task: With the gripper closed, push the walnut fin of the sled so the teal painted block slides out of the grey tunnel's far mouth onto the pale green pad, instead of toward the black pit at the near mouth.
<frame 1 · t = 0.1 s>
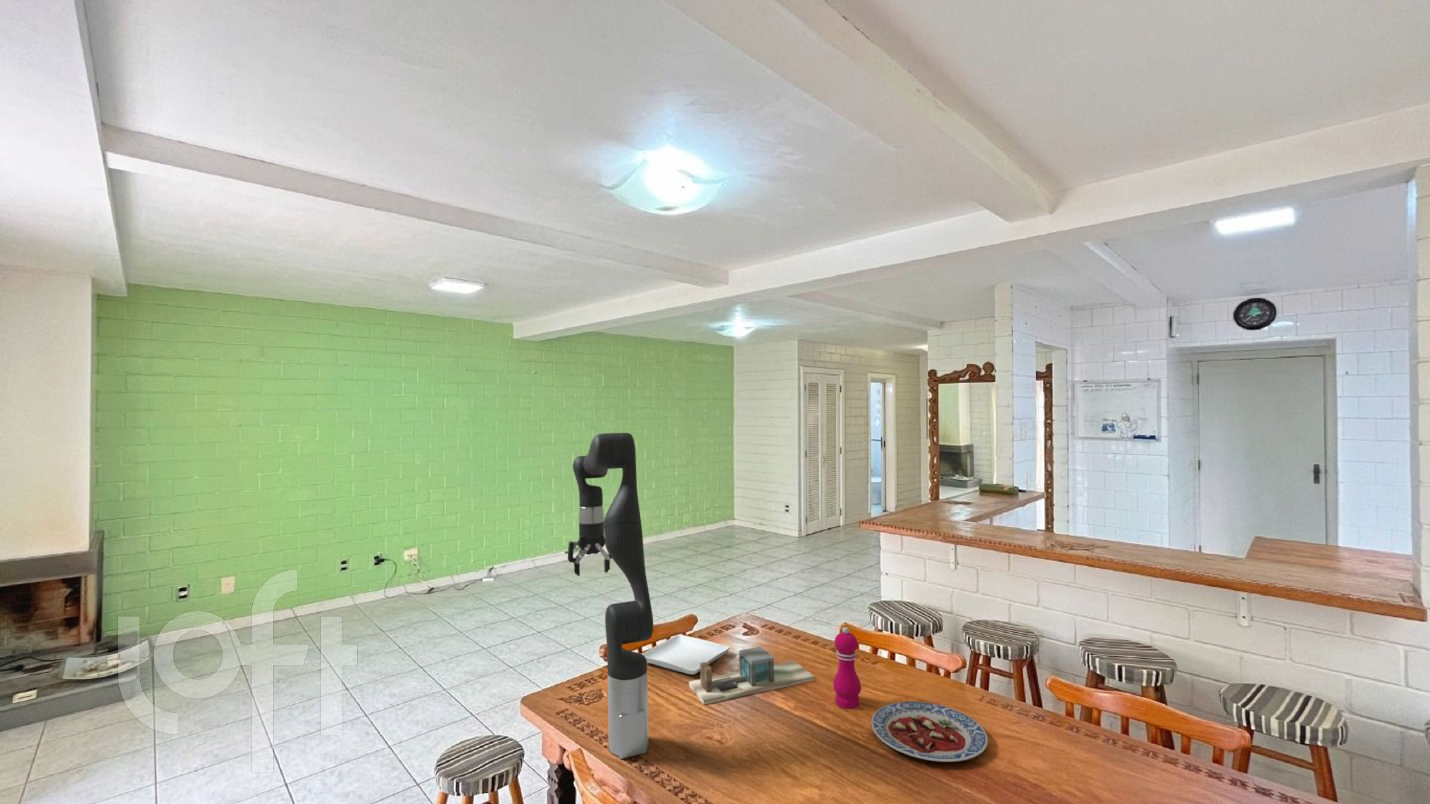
hand: (592, 573, 179), 29 cm above the table, fingers open, 8 cm apart
pepper mill: (847, 704, 155), on the table
salad plate: (686, 661, 184), on the table
deck tunnel: (755, 682, 168), on the table
ceramic plate: (928, 738, 138), on the table
sled: (734, 671, 165), point 4 cm above the table, slide at 0.0 cm
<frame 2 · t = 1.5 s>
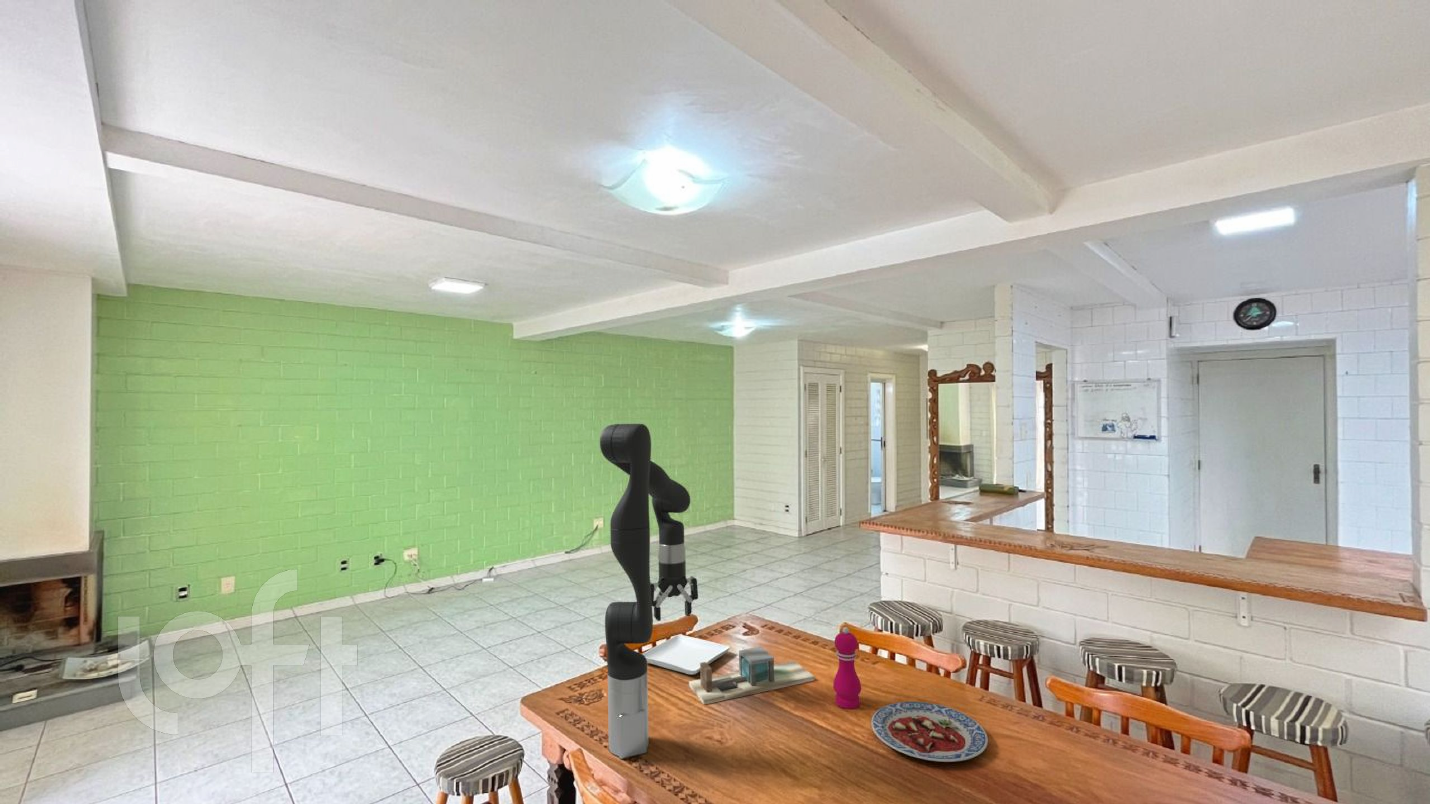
hand: (673, 617, 162), 21 cm above the table, fingers open, 8 cm apart
nothing on the table moved.
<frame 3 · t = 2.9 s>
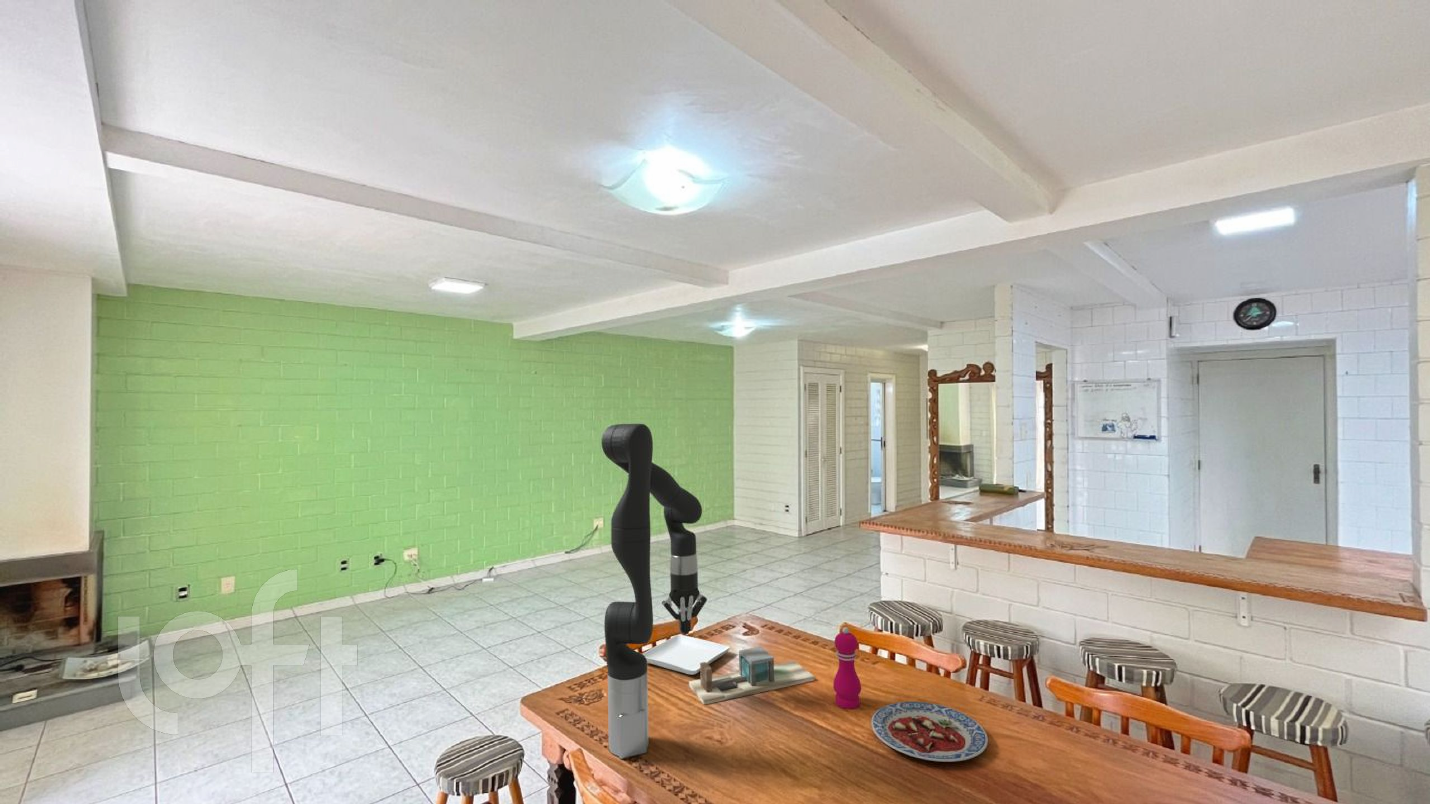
hand: (685, 633, 160), 17 cm above the table, fingers closed
nothing on the table moved.
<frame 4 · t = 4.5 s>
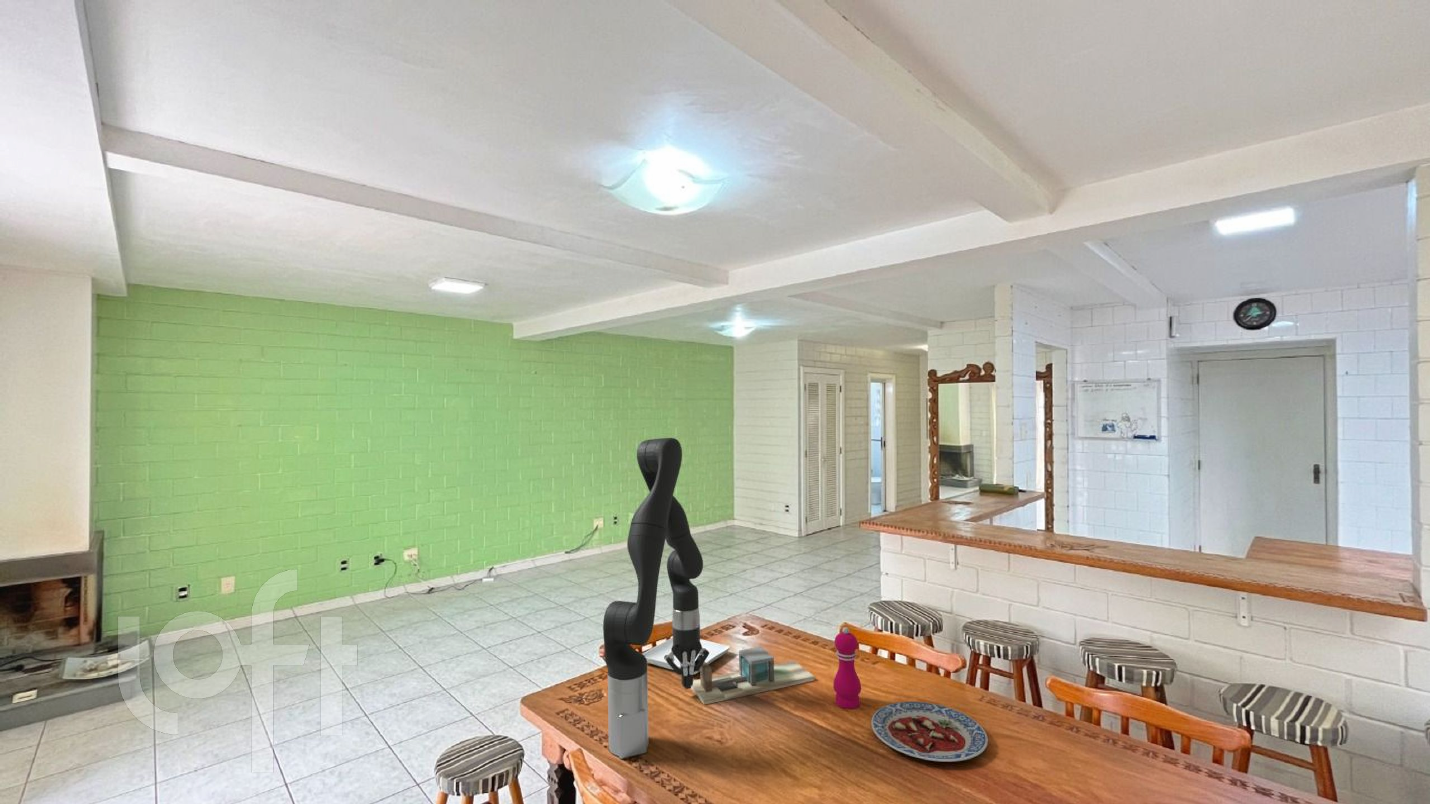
hand: (687, 687, 160), 2 cm above the table, fingers closed
nothing on the table moved.
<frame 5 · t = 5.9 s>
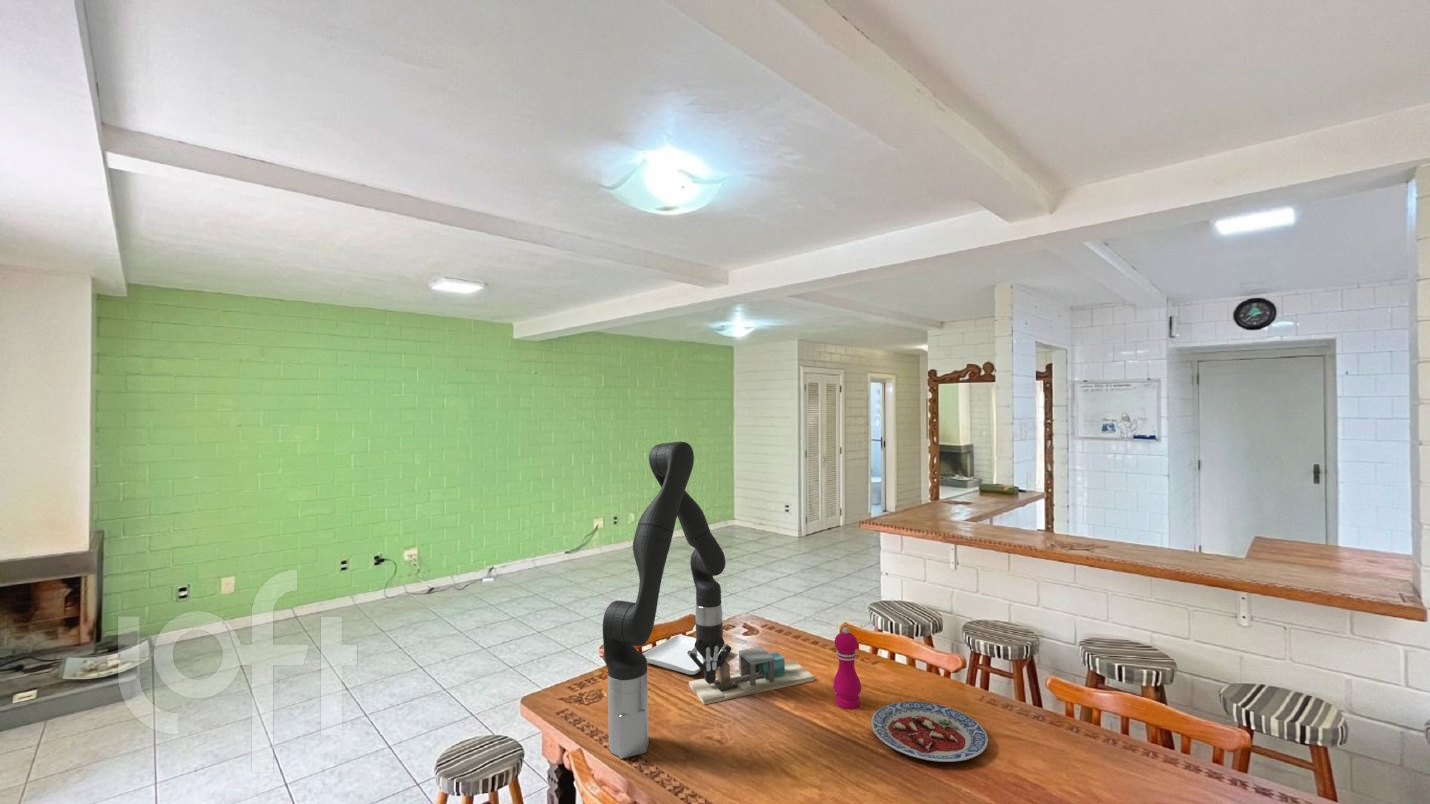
hand: (710, 682, 163), 2 cm above the table, fingers closed
sled: (751, 667, 167), point 4 cm above the table, slide at 5.4 cm, touching hand
everything else where it was.
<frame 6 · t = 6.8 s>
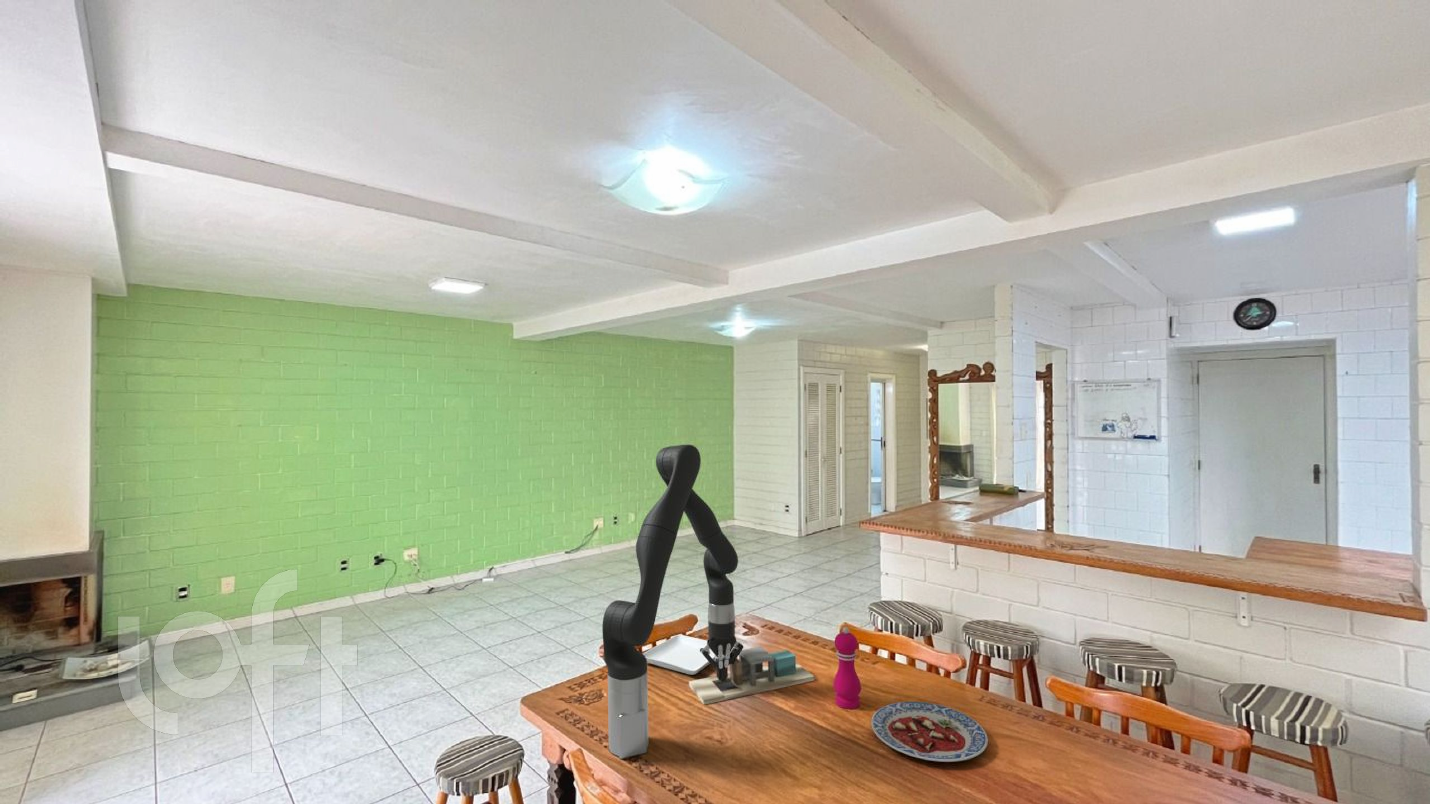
hand: (722, 680, 164), 3 cm above the table, fingers closed
sled: (763, 665, 169), point 4 cm above the table, slide at 9.0 cm, touching hand
everything else where it was.
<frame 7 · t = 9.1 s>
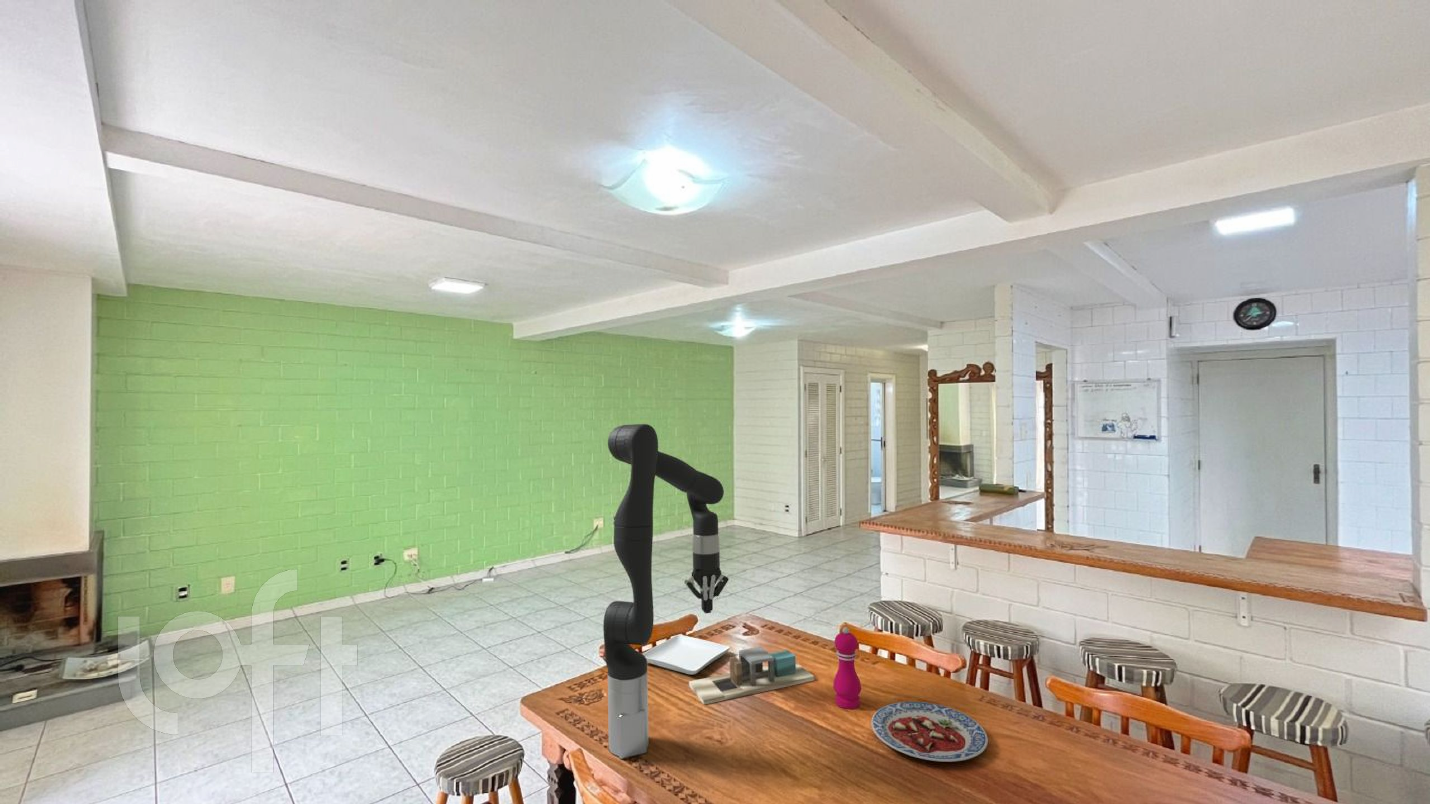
hand: (707, 612, 163), 22 cm above the table, fingers closed
sled: (762, 665, 169), point 4 cm above the table, slide at 9.0 cm
everything else where it was.
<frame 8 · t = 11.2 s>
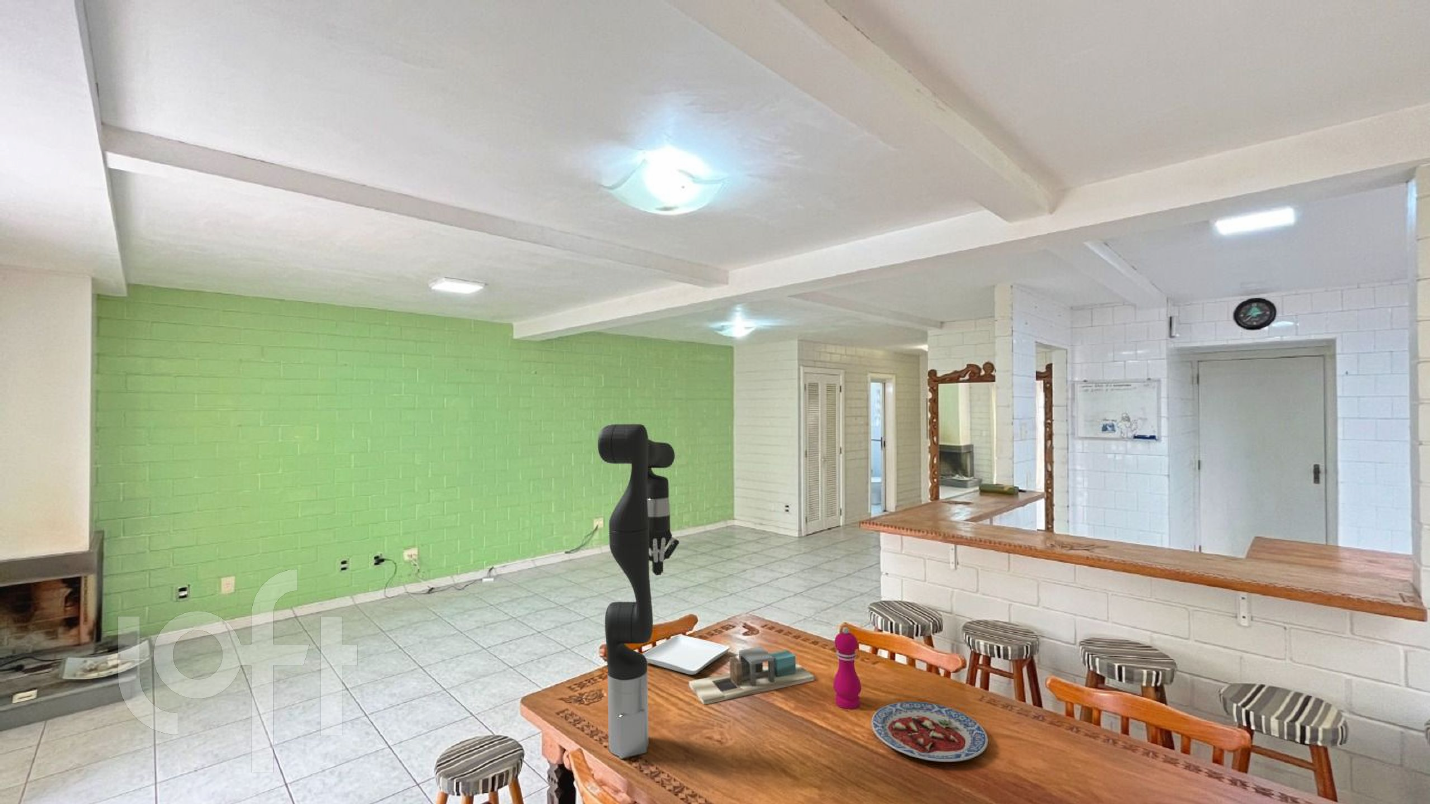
hand: (657, 574, 166), 32 cm above the table, fingers closed
nothing on the table moved.
at the end: sled slide at 9.0 cm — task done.
